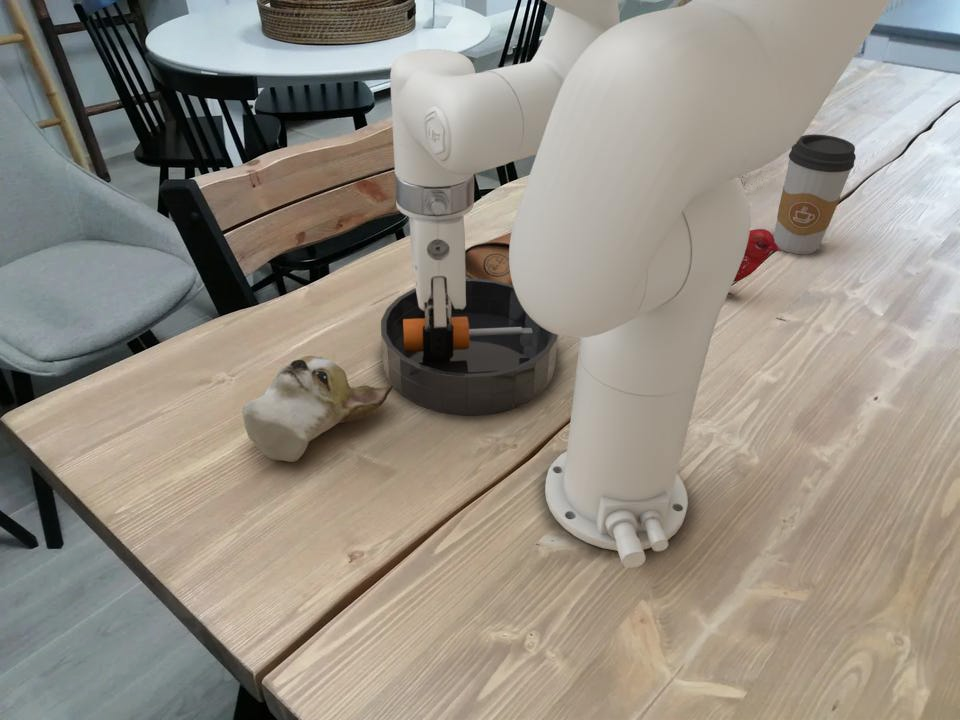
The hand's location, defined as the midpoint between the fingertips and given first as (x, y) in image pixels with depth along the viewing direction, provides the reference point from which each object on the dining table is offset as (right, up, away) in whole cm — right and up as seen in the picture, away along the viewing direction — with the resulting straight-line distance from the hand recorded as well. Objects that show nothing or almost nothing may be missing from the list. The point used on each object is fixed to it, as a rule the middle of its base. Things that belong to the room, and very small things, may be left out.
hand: (437, 344), depth 82 cm
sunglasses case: (+12, +11, +20) cm, 26 cm away
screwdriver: (+3, 0, +1) cm, 3 cm away
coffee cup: (+51, +15, +26) cm, 59 cm away
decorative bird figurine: (+33, +7, +15) cm, 37 cm away
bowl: (+4, -2, +2) cm, 4 cm away
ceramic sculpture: (-12, -9, -8) cm, 17 cm away
